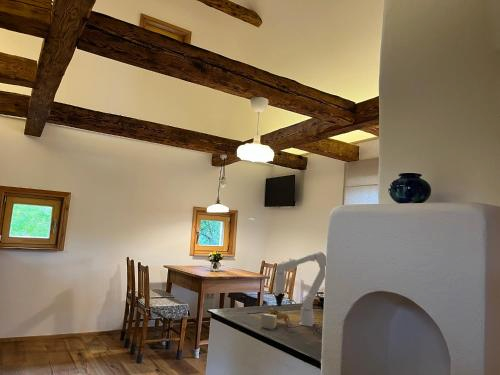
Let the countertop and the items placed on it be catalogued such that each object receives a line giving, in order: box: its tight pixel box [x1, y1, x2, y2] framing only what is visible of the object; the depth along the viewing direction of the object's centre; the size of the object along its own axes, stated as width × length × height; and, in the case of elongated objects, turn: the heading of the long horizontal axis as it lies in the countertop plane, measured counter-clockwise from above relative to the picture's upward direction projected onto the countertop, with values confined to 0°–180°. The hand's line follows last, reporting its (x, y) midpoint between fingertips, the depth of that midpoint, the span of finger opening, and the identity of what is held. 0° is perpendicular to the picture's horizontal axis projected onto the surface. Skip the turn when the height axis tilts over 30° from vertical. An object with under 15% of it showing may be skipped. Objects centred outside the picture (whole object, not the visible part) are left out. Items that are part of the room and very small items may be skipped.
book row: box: [260, 313, 278, 330], centre depth 216 cm, size 7×7×7 cm
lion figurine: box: [267, 307, 293, 327], centre depth 223 cm, size 15×5×9 cm, turn 74°
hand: (279, 305), depth 229 cm, fingers closed
